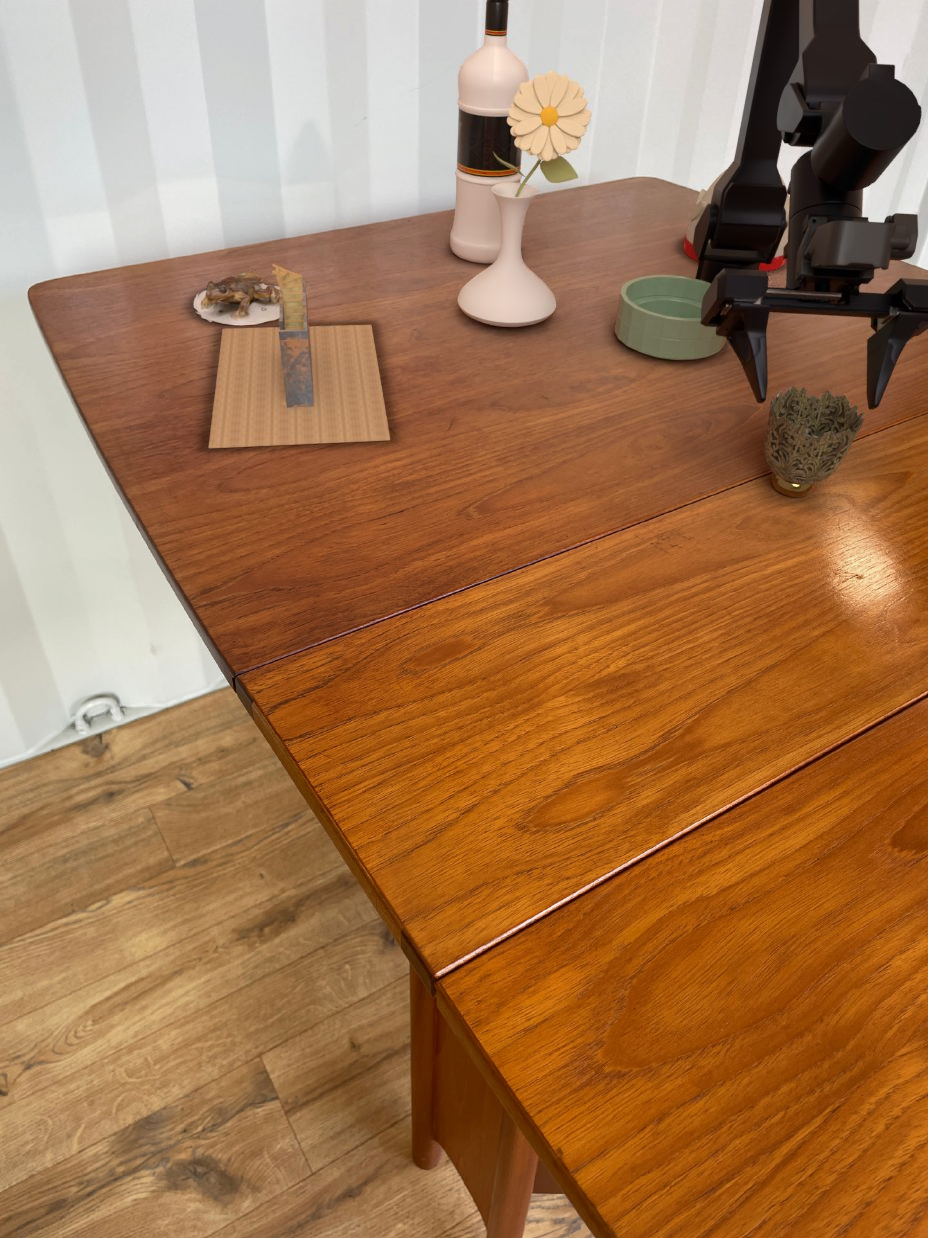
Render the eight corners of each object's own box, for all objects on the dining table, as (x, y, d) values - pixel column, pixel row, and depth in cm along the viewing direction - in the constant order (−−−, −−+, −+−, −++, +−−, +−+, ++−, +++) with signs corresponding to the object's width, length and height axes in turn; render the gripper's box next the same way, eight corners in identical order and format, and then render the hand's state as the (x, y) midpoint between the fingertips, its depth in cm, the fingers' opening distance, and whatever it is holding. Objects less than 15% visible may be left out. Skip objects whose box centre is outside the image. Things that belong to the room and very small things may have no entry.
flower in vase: (441, 324, 101) (446, 70, 84) (478, 289, 109) (489, 50, 92) (550, 347, 98) (579, 88, 81) (580, 309, 106) (611, 65, 89)
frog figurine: (252, 335, 97) (247, 301, 95) (169, 310, 101) (163, 276, 99) (316, 300, 105) (313, 268, 102) (236, 277, 109) (232, 246, 106)
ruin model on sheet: (222, 328, 98) (208, 237, 92) (371, 324, 101) (368, 235, 94) (208, 448, 80) (190, 345, 74) (390, 440, 82) (388, 339, 76)
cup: (835, 475, 80) (865, 395, 75) (833, 520, 75) (865, 437, 70) (751, 459, 82) (775, 379, 77) (743, 501, 77) (768, 418, 71)
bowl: (591, 335, 101) (597, 291, 97) (660, 308, 107) (668, 266, 103) (676, 375, 94) (686, 330, 91) (745, 344, 100) (756, 301, 97)
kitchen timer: (785, 241, 125) (817, 122, 115) (788, 277, 115) (824, 151, 105) (685, 230, 127) (708, 112, 117) (680, 264, 117) (705, 139, 107)
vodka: (478, 271, 113) (491, -17, 93) (435, 248, 119) (439, -29, 99) (533, 257, 118) (557, -21, 98) (490, 235, 123) (504, -32, 103)
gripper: (741, 160, 66) (732, 365, 65) (993, 173, 66) (987, 379, 65) (703, 233, 77) (694, 409, 77) (918, 244, 77) (912, 422, 76)
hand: (817, 405), depth 73 cm, fingers open, 9 cm apart
